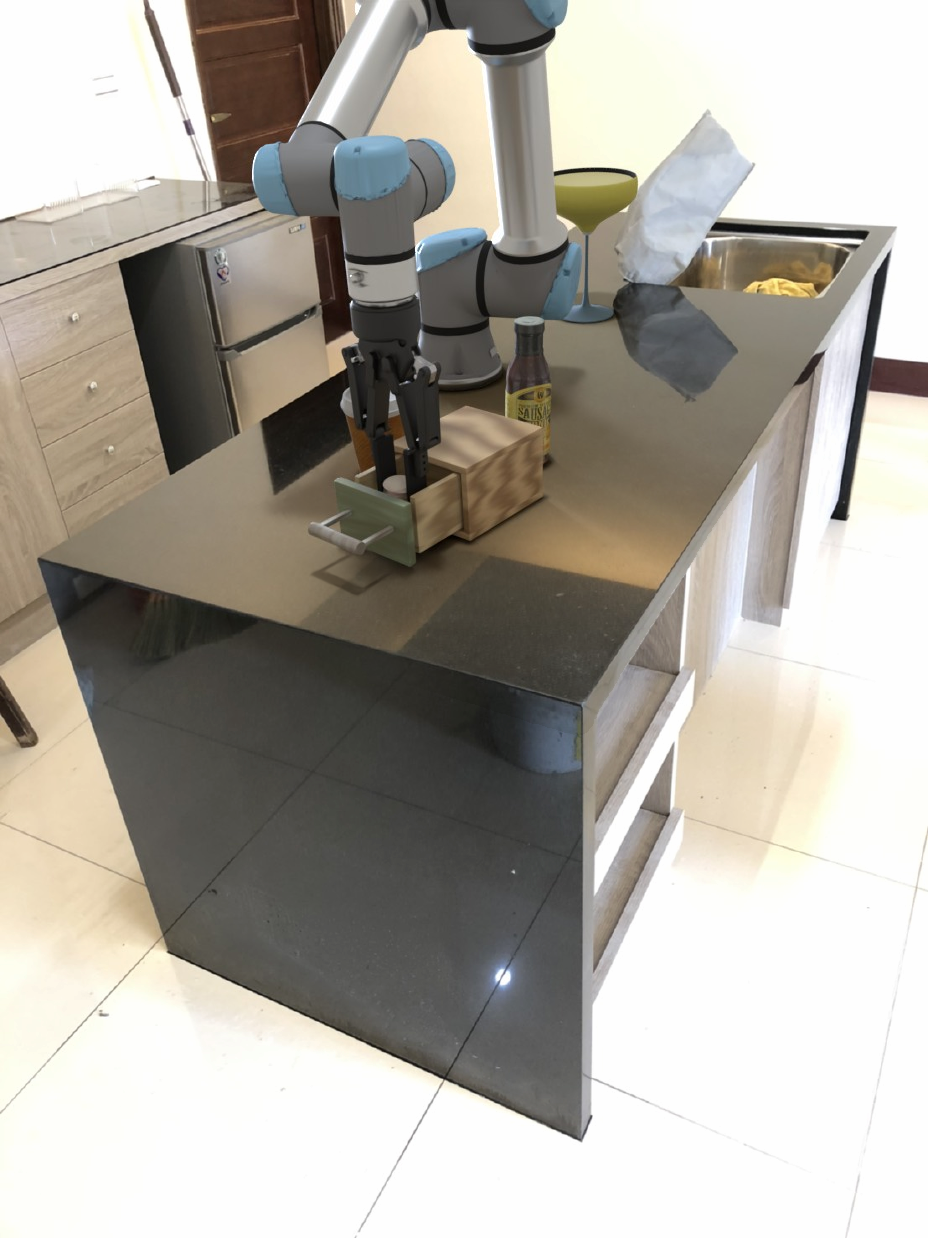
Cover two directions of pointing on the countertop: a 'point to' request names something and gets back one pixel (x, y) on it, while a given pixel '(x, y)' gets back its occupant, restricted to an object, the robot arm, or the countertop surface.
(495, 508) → the cabinet
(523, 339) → the sauce bottle
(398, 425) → the disposable coffee cup
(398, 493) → the white teardrop piece
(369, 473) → the drawer
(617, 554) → the countertop surface
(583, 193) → the cocktail glass
